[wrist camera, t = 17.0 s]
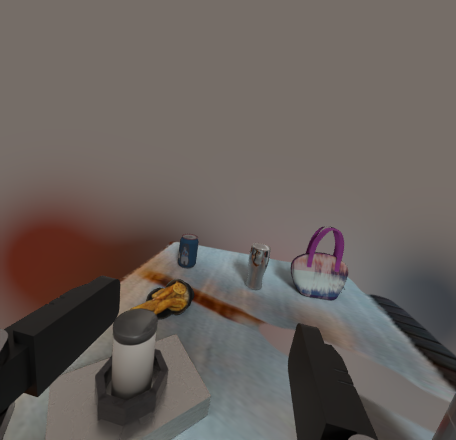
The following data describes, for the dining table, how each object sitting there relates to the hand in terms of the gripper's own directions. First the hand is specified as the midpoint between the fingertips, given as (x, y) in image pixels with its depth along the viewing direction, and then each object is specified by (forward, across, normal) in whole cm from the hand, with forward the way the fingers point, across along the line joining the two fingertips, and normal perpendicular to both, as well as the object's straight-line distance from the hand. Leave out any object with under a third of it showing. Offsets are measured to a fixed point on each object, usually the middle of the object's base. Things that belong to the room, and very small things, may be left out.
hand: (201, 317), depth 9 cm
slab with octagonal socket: (+16, +12, +32) cm, 38 cm away
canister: (+16, +12, +28) cm, 34 cm away
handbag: (+67, -28, +32) cm, 80 cm away
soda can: (+66, +21, +32) cm, 76 cm away
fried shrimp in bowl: (+37, +18, +32) cm, 52 cm away
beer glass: (+62, -6, +32) cm, 70 cm away
